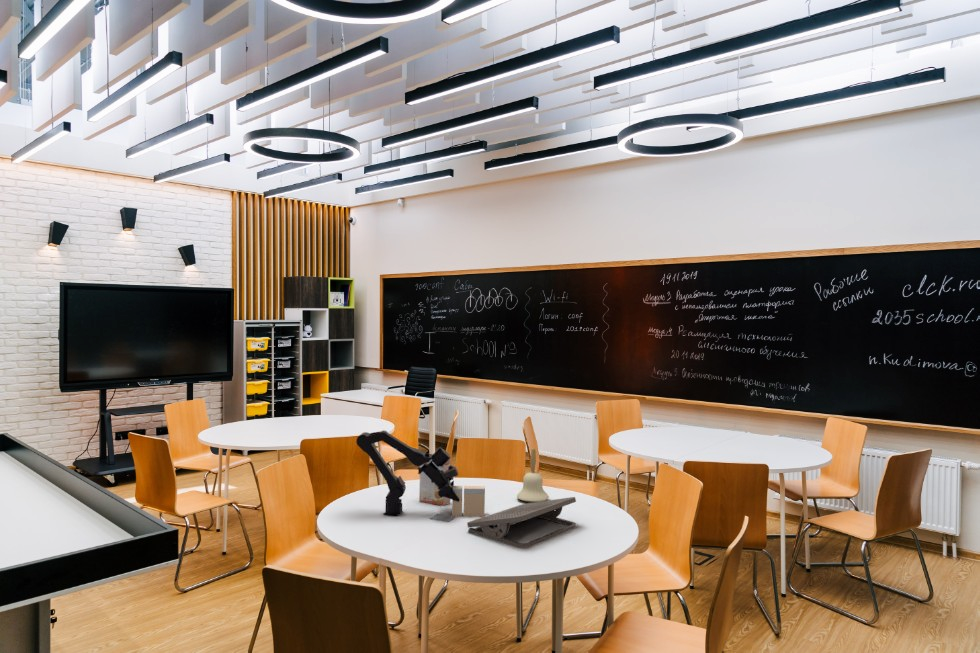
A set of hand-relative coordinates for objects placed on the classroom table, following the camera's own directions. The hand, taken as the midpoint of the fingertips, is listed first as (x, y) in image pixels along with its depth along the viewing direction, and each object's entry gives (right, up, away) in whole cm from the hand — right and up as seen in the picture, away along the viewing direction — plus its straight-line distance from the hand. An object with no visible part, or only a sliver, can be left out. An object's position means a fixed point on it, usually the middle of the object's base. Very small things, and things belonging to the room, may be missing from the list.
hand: (459, 499), depth 277 cm
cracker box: (-12, -7, +18) cm, 23 cm away
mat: (-7, -7, -5) cm, 11 cm away
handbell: (+34, -7, +24) cm, 42 cm away
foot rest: (+27, -8, -18) cm, 33 cm away
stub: (-1, -7, 0) cm, 7 cm away
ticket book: (+7, -7, 0) cm, 9 cm away
